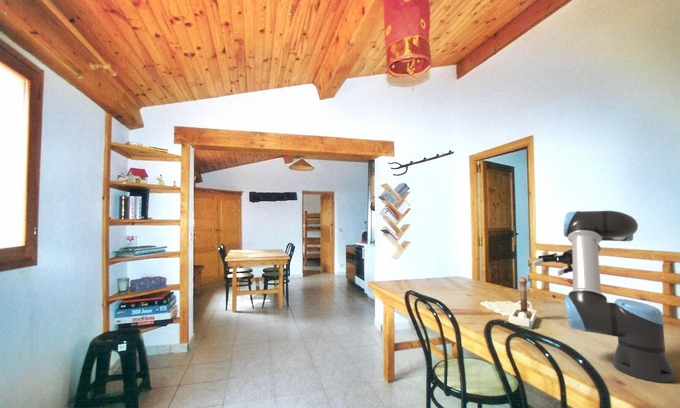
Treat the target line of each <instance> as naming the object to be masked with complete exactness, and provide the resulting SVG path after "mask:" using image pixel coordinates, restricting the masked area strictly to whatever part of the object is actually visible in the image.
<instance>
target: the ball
mask: <svg viewBox="0 0 680 408" xmlns="http://www.w3.org/2000/svg"><path fill="white" fill-rule="evenodd" d="M518 317H522V318H527V315H526V314H525V313H524V312H520V313H519V314H518Z"/></svg>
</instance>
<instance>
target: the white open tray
mask: <svg viewBox="0 0 680 408" xmlns="http://www.w3.org/2000/svg"><path fill="white" fill-rule="evenodd" d="M516 310H518V309H517V308H515V309H513V311H512V312H511V313H510V315H509V316H508V323H509V322H510V323H513V324H516V325H519V326H522V327H524V328H523V329H527V330H533V327H534V325H535V323H536V321H537V312H535V311H533V313H532V317H531V319H529V318H522V317H517V316H516Z"/></svg>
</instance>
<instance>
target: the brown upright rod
mask: <svg viewBox="0 0 680 408" xmlns="http://www.w3.org/2000/svg"><path fill="white" fill-rule="evenodd" d="M518 283H519V293H520V294H519V295H520V299H519V300H520V309H517V310H516V316H517V317H518V314H519V313H520V312H524V313H525V314H526V315H527V318H529V319H531V317H532V315H533V313H532V311H529V310H528V293H527V292H528V291H527V284H528V279H527V278H526V277H524V276H522V277H519V278H518Z"/></svg>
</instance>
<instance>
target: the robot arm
mask: <svg viewBox="0 0 680 408" xmlns="http://www.w3.org/2000/svg"><path fill="white" fill-rule="evenodd" d="M638 228H639V224H638V222H637V220H636V219H635V218H634V217H633V216H631V215H629V214H626V213H623V212H622V211H621V212H620V211H615V210H591V211H589V210H588V211H587V210H586V211H585V210H583V211H582V210H581V211H580V210H576V211H569V212H567V213H566V214H565V217H564V221H563V236H564V237H566V238H567V240H568V241H569V242H570V243H571V247H572V248H570V249H568V250H565V251H564V252H563V253H562V254H558V253H557V252H555V253H549V254H544V255H538V257H537V259H536V260H535V261H532V266H533V267H534V268H535V267H537V266H540V265H542V264H544V263H562V264H564V265H567V266H564V267H563V268H560V269H558V270H557V272H556V273H557V274H556V275H557V277H560V276H562V275H564V274H568V273H572V290H571V291H569V293H568V296H565V297H563V300H564V301H563V302H564V305H565V311H566V317H567V322H568V326H569V327H570V328H572V329H573V330H577V331H581V332H584V333H585V332H588V333H593V334H600V335H603V336H604V335H606V336H610V337H611V336H612V337H617V345H616V346H617V347H616V349H615V352H614V354H613V357H612V365H613V367H614V368H615V369H616V370H618V371H620V372H622V373H623V374H625V375H629V376H631V377H634V378H638V379H641V380H646V381H651V382H655V383H656V382H657V383H673V382H675V381H676V374H675V370H674V368H673V367H672V364H671V362H670V360H669V358H668V356H667V354H666V343H665V334H664V333H665V332H664V325H665V322H664V319H663V313H662V311H661V310H660V309H659V308H657V307H655V306H653V305H650V304H647V303H644V302H640V301H636V300H630V299H623V298H616V299H615V300H614V302H609V301H608V299H607V296H606V295H605V294H603V293H602V288H601V287H602V285H601V275H600V257H599V253H601V250H602V249H601V248H602V247H601V246H600V244H599V243H601V242H602V241H604V242H606V241H609V242H611V241H612V242H632V241H633V240H634V235H635V233H637V230H638Z"/></svg>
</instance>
